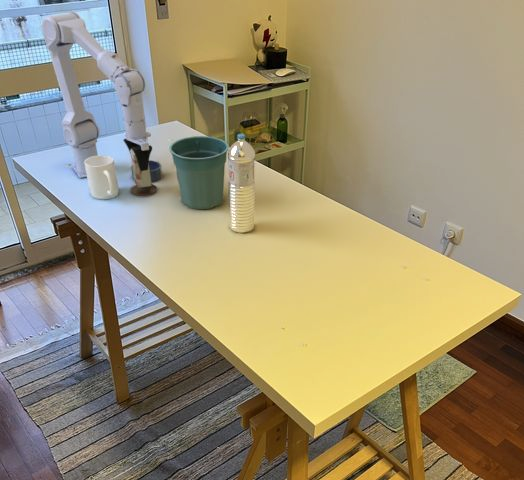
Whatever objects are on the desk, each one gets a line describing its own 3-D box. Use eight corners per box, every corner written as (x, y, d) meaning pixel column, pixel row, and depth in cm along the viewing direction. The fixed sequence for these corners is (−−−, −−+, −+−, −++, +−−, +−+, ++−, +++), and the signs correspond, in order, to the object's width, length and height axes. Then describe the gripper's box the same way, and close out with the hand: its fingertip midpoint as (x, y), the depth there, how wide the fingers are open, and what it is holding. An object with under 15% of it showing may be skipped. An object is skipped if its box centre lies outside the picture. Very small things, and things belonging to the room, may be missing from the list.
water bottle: (251, 234, 145) (251, 140, 128) (226, 232, 145) (224, 138, 129) (256, 223, 150) (257, 131, 133) (232, 220, 151) (230, 129, 134)
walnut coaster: (127, 188, 165) (126, 186, 165) (152, 183, 168) (151, 181, 168) (135, 198, 160) (135, 196, 160) (161, 193, 163) (160, 191, 163)
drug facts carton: (134, 181, 164) (129, 148, 158) (148, 179, 165) (144, 146, 159) (137, 188, 161) (132, 154, 154) (152, 186, 162) (147, 153, 155)
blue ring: (129, 174, 174) (127, 163, 171) (156, 168, 177) (155, 158, 175) (138, 184, 168) (136, 173, 165) (166, 179, 171) (165, 168, 169)
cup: (113, 185, 167) (107, 153, 160) (128, 200, 159) (123, 167, 152) (87, 191, 163) (80, 158, 156) (101, 207, 156) (94, 173, 149)
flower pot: (204, 219, 151) (201, 162, 140) (162, 202, 158) (156, 147, 148) (241, 199, 161) (240, 145, 150) (200, 184, 168) (197, 132, 158)
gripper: (157, 124, 147) (162, 173, 156) (139, 109, 157) (145, 156, 166) (132, 128, 145) (138, 177, 153) (115, 113, 154) (123, 159, 163)
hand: (140, 166), depth 159 cm, fingers closed on drug facts carton, 5 cm apart
